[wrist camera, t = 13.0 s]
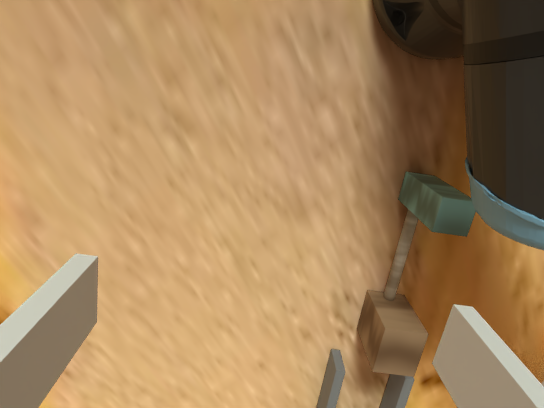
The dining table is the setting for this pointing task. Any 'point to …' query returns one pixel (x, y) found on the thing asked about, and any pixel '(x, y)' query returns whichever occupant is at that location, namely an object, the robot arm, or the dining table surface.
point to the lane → (333, 379)
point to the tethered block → (388, 305)
